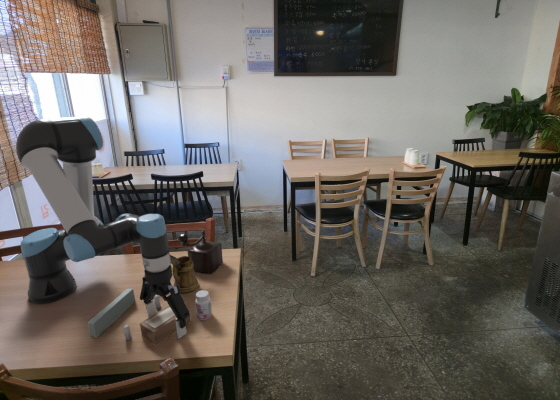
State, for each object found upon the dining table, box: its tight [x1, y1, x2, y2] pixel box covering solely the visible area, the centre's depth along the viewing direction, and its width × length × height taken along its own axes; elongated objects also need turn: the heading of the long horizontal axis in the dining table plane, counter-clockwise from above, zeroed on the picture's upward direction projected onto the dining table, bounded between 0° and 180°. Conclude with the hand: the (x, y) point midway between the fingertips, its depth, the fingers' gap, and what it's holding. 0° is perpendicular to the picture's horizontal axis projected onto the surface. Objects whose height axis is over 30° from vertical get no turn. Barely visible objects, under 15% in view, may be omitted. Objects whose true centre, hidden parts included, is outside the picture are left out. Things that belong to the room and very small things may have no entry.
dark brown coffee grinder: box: [177, 229, 224, 275], centre depth 140 cm, size 16×11×18 cm
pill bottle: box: [195, 290, 213, 321], centre depth 113 cm, size 5×5×8 cm
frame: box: [139, 305, 192, 346], centre depth 108 cm, size 7×13×5 cm, turn 144°
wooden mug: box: [170, 254, 199, 294], centre depth 127 cm, size 9×14×18 cm, turn 160°
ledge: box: [87, 287, 161, 341], centre depth 113 cm, size 13×19×5 cm
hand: (167, 327), depth 108 cm, fingers open, 13 cm apart
